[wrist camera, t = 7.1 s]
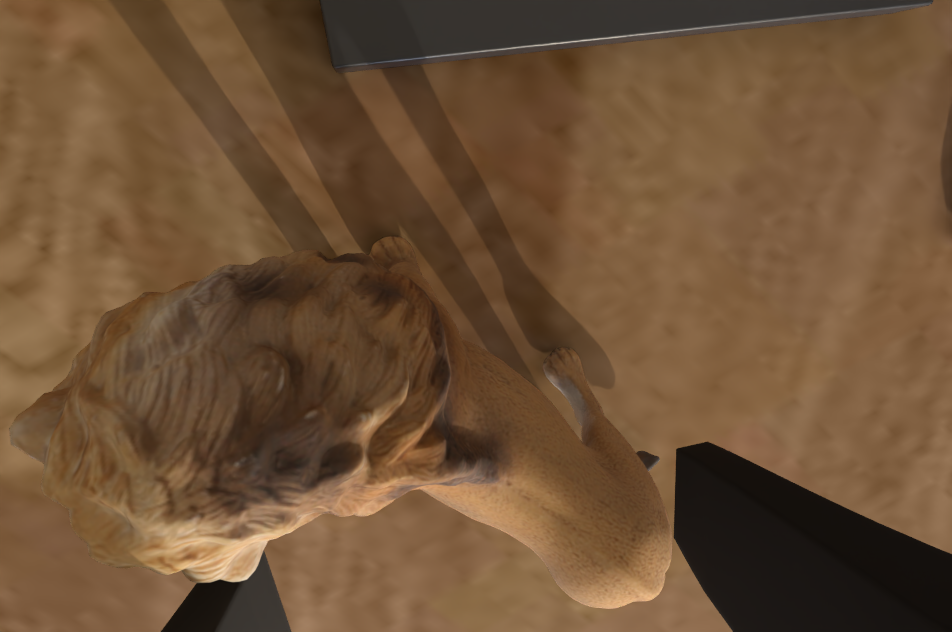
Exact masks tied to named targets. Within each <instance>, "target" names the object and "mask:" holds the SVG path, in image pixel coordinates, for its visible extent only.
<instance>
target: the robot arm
mask: <svg viewBox="0 0 952 632" xmlns="http://www.w3.org/2000/svg"><path fill="white" fill-rule="evenodd" d="M674 539H675V541H676V542H677V544H678V546H679V548H680V550H681V551H682V553H683V555H684V557H685V559H686V561H687V562H688V564H689V566H690V568H691V569H692V571H693V573H694V575H695V576H696V578H697V580H698V581H699V583H700V585H701V586H702V588H703V590H704V592H705V593H706V594H707V596H708V597H709V599H710V600H711V602H712V603H713V604H714V606H715V607H716V609H717V610H718V611H719V613H720V614H721V615H722V617H723V618H724V620H725V621H726V622H727V624H728V625H729V627H730V628H731V629H732V631H733V632H952V554H950V553H947V552H945V551H942V550H940V549H937V548H935V547H933V546H930V545H928V544H926V543H923V542H921V541H919V540H916V539H914V538H912V537H909V536H907V535H905V534H903V533H900V532H898V531H896V530H893V529H891V528H889V527H886V526H884V525H882V524H879V523H877V522H875V521H873V520H871V519H869V518H866V517H864V516H862V515H860V514H858V513H855V512H853V511H851V510H849V509H847V508H845V507H843V506H840V505H838V504H836V503H834V502H832V501H830V500H828V499H826V498H824V497H822V496H819V495H817V494H815V493H813V492H811V491H809V490H807V489H805V488H803V487H801V486H799V485H797V484H795V483H793V482H791V481H789V480H787V479H785V478H783V477H781V476H779V475H777V474H775V473H772V472H770V471H768V470H766V469H764V468H762V467H760V466H758V465H756V464H754V463H752V462H750V461H748V460H746V459H744V458H742V457H740V456H738V455H736V454H734V453H732V452H730V451H727V450H725V449H723V448H721V447H719V446H716V445H714V444H712V443H709V442H704V443H700V444H696V445H691V446H687V447H682V448H678V449H676V482H675V515H674ZM161 632H291V629H290V626H289V623H288V620H287V617H286V614H285V611H284V609H283V606H282V603H281V600H280V597H279V594H278V591H277V588H276V585H275V582H274V579H273V576H272V573H271V570H270V567H269V564H268V561H267V558H266V555H265V552H264V550H263V553H262V555H261V558H260V561H259V564H258V566H257V568H256V570H255V571H254V572H253V573H252V574H251V576H250V577H249V578H248V579H247V580H243V581H240V582H229V581H224V580H221V579H219V580H216V581H213V582H210V583H197V584H196V585H195V586H194V588H193V589H192V590H191V592H190V593H189V594H188V596H187V597H186V599H185V600H184V601H183V603H182V604H181V605H180V607H179V608H178V609H177V611H176V612H175V613H174V615H173V616H172V617H171V619H170V620H169V621H168V623H167V624H166V626H165V627H164V628H163V630H162V631H161Z"/></svg>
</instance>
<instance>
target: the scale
mask: <svg viewBox="0 0 952 632" xmlns="http://www.w3.org/2000/svg"><path fill="white" fill-rule="evenodd" d="M932 2H933V0H320V5H321V11H322V16H323V21H324V26H325V31H326V36H327V42H328V47H329V52H330V57H331V62H332V66H333V68H334V69H335V70H336V72H338V73H344V72H354V71H363V70H372V69H381V68H391V67H400V66H409V65H418V64H428V63H437V62H446V61H455V60H465V59H474V58H483V57H492V56H502V55H511V54H520V53H529V52H539V51H548V50H557V49H566V48H576V47H585V46H594V45H603V44H613V43H622V42H631V41H640V40H650V39H659V38H668V37H677V36H687V35H696V34H705V33H714V32H724V31H733V30H742V29H751V28H761V27H770V26H779V25H788V24H798V23H807V22H816V21H826V20H835V19H844V18H853V17H863V16H872V15H881V14H890V13H895V12H900V11H905V10H909V9H914V8H919V7H923V6H928V5H930V4H932Z"/></svg>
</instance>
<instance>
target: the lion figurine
mask: <svg viewBox="0 0 952 632" xmlns="http://www.w3.org/2000/svg"><path fill="white" fill-rule="evenodd" d="M543 370H544V373H545V375H546V377H547V378H548V379H549V381H550V382H551V383H552V384H553V385H554V386H555V387H557V388H558V389H559V390H560V391H561V392H562V393H563V395H564V396H565V397H566V399H567V400H568V402H569V403H570V404H571V406H572V408H573V410H574V413H575V417H576V419H577V421H578V422H579V424H580V425H581V426H582V431H581V434H582V441H581V440H580V439H579V438H578V436H577V435H576V434H575V433H574V431H573V430H572V429H571V427H570V426H569V425H568V423H567V422H566V421H565V419H564V418H563V417H562V415H561V414H560V413H559V411H558V410H557V409H556V407H555V406H554V405H553V404H552V403H551V402H550V401H549V399H548V398H547V397H546V396H545V395H544V394H543V393H542V392H541V391H539V390H538V389H537V388H536V387H535V386H534V385H532V384H531V383H530V382H529V381H527V380H526V379H525V378H524V377H522V376H521V375H520V374H519V373H517V372H516V371H514V370H513V369H512V368H511V367H510V366H508V365H507V364H506V363H505V362H503V361H502V360H501V359H499V358H497V357H496V356H494V355H492V354H490V353H489V352H487V351H485V350H484V349H482V348H480V347H478V346H477V345H475V344H472V343H470V342H467V341H465V340H462V339H461V337H460V334H459V331H458V329H457V327H456V325H455V324H454V322H453V320H452V318H451V317H450V315H449V314H448V312H447V311H446V309H445V308H444V307H443V305H442V304H441V303H440V302H439V301H438V299H437V298H436V296H435V294H434V292H433V290H432V289H431V287H430V285H429V283H428V282H427V281H426V280H425V278H424V277H423V276H422V274H421V272H420V270H419V267H418V263H417V260H416V257H415V254H414V251H413V249H412V247H411V245H410V244H409V243H408V242H407V241H406V240H405V239H403V238H402V237H384V238H382V239H380V240H378V241H377V242H375V243H374V244H373V246H372V249H371V252H370V253H369V255H366V254H364V253H356V254H349V253H347V254H344V255H341V256H339V257H337V258H334V259H332V260H331V259H327V258H326V257H325V256H323V255H322V254H321V253H320V252H319V251H317V250H300V251H297V252H294V253H291V254H289V255H287V256H283V257H280V258H279V257H268V258H262V259H260V260H259V261H258V262H256V263H254V264H252V265H226V266H223V267H220V268H218V269H217V270H215V271H214V272H212V273H211V274H210V275H209V276H207V277H205V278H204V279H202V280H200V281H198V282H186V283H184V284H182V285H180V286H178V287H176V288H175V289H173V290H171V291H170V292H167V293H157V292H146V293H143V294H142V295H141V296H140V297H138V298H137V299H136V300H133V301H131V302H129V303H127V304H125V305H124V306H122V307H119V308H116V309H114V310H111V311H108V312H106V313H105V314H104V315H103V316H102V317H101V319H100V321H99V323H98V324H97V327H96V329H95V331H94V334H93V337H92V340H91V342H90V343H89V344H88V345H87V346H86V347H85V348H84V349H83V350H81V351H80V352H79V353H78V354H77V355H76V356H75V358H74V360H73V364H72V368H71V370H70V372H69V374H68V376H67V377H66V379H64V380H63V381H62V382H61V383H60V384H58V385H57V386H56V387H55V388H54V389H53V391H52V392H48V393H44V394H43V395H42V396H41V397H40V398H39V399H38V400H37V401H36V402H35V403H34V404H33V405H32V406H30V407H29V408H28V409H26V410H25V411H23V412H22V413H20V414H19V415H18V416H17V417H16V419H15V420H14V422H13V423H12V425H11V426H10V428H9V431H10V441H11V444H12V445H13V446H14V447H16V448H18V449H19V450H21V451H23V452H24V453H26V454H27V455H29V456H30V457H32V458H34V459H36V460H38V461H40V462H42V463H43V464H44V472H43V477H42V482H41V486H42V491H43V493H44V494H45V496H46V497H48V498H49V499H51V500H53V501H55V502H57V503H59V504H60V505H62V506H64V507H66V508H67V509H68V510H69V515H70V523H71V526H72V528H73V530H74V533H75V534H76V535H77V536H78V537H79V538H80V539H81V540H83V541H84V542H85V543H86V544H87V546H88V551H89V556H90V557H92V558H93V559H94V560H95V561H97V562H99V563H103V564H106V565H109V566H112V567H115V568H131V567H142V568H148V569H150V570H152V571H154V572H156V573H158V574H164V575H168V574H172V573H175V572H178V571H182V572H183V574H184V575H185V576H186V577H187V578H188V579H189V580H190V581H192V582H195V583H210V582H213V581H216V580H219V579H221V580H224V581H229V582H240V581H243V580H247V579H248V578H249V577H250V576H251V574H252V573H253V572H254V571H255V570H256V568H257V566H258V564H259V561H260V558H261V555H262V553H263V550H264V548H265V546H266V544H267V542H268V540H271V539H276V538H278V537H280V536H282V535H284V534H287V533H290V532H292V531H293V530H295V529H296V528H298V527H300V526H302V525H304V524H306V523H308V522H310V521H312V520H313V519H314V518H316V517H317V516H319V515H321V514H324V513H330V514H333V515H336V516H341V517H345V516H351V515H353V514H354V515H357V516H368V515H371V514H374V513H376V512H377V511H379V510H380V509H382V508H383V507H385V506H386V505H388V504H390V503H391V502H393V501H394V499H397V498H399V497H400V496H402V495H403V494H405V493H407V492H409V491H411V490H415V489H421V490H423V491H424V492H426V493H427V494H429V495H430V496H432V497H434V498H435V499H437V500H439V501H440V502H442V503H444V504H446V505H447V506H449V507H451V508H453V509H455V510H457V511H459V512H461V513H463V514H464V515H466V516H468V517H470V518H472V519H474V520H476V521H479V522H482V523H484V524H487V525H490V526H493V527H495V528H497V529H499V530H501V531H503V532H506V533H507V534H509V535H511V536H512V537H514V538H516V539H517V540H519V541H520V542H522V543H523V544H525V545H527V546H528V547H529V548H531V549H532V550H533V551H534V552H535V553H536V554H537V555H538V556H539V557H540V558H541V559H542V560H543V562H544V563H545V564H546V566H547V568H548V570H549V572H550V573H551V575H552V577H553V578H554V580H555V581H556V583H557V584H558V585H559V587H560V588H561V589H562V590H563V591H564V592H565V593H566V594H568V595H569V596H570V597H571V598H573V599H575V600H576V601H578V602H580V603H582V604H585V605H587V606H590V607H598V608H609V609H612V608H618V607H621V606H624V605H626V604H629V603H631V602H635V601H649V600H651V599H653V598H655V597H656V596H657V595H658V594H659V593H660V591H661V590H662V588H663V585H664V581H665V572H666V571H667V569H668V568H669V565H670V561H671V554H672V531H671V526H670V523H669V519H668V516H667V512H666V509H665V507H664V504H663V502H662V499H661V496H660V494H659V491H658V489H657V487H656V485H655V483H654V481H653V479H652V477H651V475H650V474H649V472H648V471H649V470H651V469H652V467H653V466H654V465H656V464H657V463H658V462H659V460H660V459H659V457H658V456H654V455H651V454H649V453H648V452H645V451H638V452H637V453H635V451H634V450H633V448H632V447H631V445H630V444H629V443H628V442H627V441H626V439H625V438H624V437H623V436H622V435H621V434H620V432H619V431H618V430H617V429H616V428H615V427H614V426H613V425H612V424H611V423H610V422H609V420H608V419H607V418H606V417H605V416H604V413H603V410H602V408H601V406H600V404H599V403H598V401H597V400H596V398H595V397H594V395H593V393H592V392H591V390H590V388H589V386H588V384H587V381H586V379H585V375H584V371H583V368H582V364H581V361H580V358H579V356H578V355H577V353H576V352H575V351H574V350H573V349H571V348H567V347H560V348H557V349H555V350H554V351H553V352H552V353H551V354H550V355H549V356H548V357H547V358H546V359H545V361H544V363H543Z"/></svg>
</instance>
